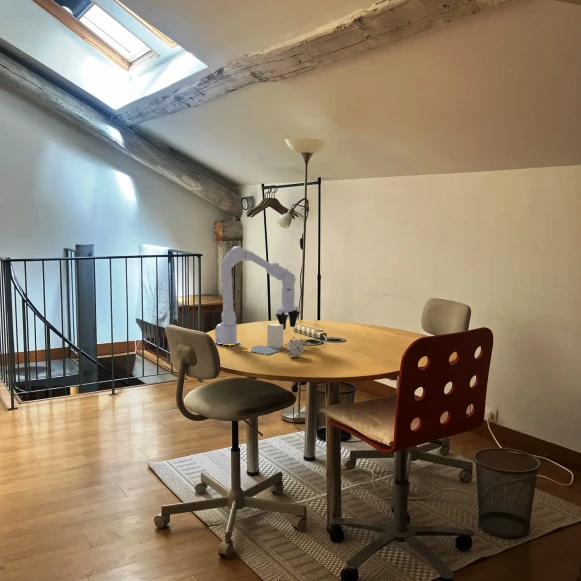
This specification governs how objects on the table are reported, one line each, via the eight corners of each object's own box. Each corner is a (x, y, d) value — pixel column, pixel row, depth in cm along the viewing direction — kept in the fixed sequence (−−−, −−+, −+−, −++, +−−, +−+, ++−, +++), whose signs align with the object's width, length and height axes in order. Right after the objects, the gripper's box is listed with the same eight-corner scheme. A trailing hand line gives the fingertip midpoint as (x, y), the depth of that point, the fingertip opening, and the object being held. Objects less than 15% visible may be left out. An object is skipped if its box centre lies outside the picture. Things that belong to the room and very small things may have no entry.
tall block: (267, 347, 271) (267, 324, 270) (274, 345, 275) (274, 323, 274) (276, 348, 268) (276, 326, 267) (283, 346, 272) (283, 324, 271)
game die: (293, 367, 251) (283, 350, 246) (288, 355, 258) (278, 338, 253) (312, 356, 251) (302, 339, 246) (307, 345, 258) (297, 328, 253)
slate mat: (241, 350, 263) (241, 350, 263) (258, 346, 273) (258, 345, 273) (267, 355, 255) (267, 354, 255) (284, 350, 265) (284, 349, 265)
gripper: (286, 300, 269) (285, 331, 270) (304, 297, 280) (303, 326, 282) (273, 299, 273) (272, 329, 274) (291, 296, 284) (291, 325, 286)
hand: (287, 328), depth 278 cm, fingers open, 7 cm apart
